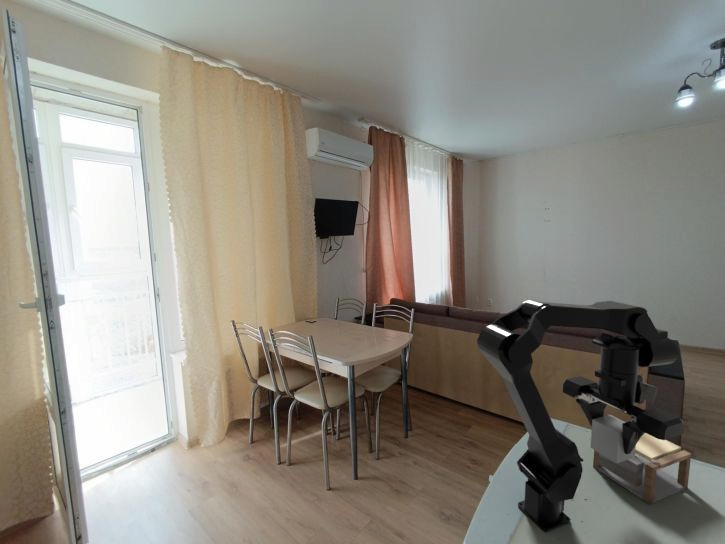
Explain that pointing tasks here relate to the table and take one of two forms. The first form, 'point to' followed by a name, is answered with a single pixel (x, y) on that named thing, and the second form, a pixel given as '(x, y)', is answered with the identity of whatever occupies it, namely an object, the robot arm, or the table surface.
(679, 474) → the frame
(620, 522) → the table surface
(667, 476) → the mat
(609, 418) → the light grey block
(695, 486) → the table surface
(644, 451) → the trapdoor
